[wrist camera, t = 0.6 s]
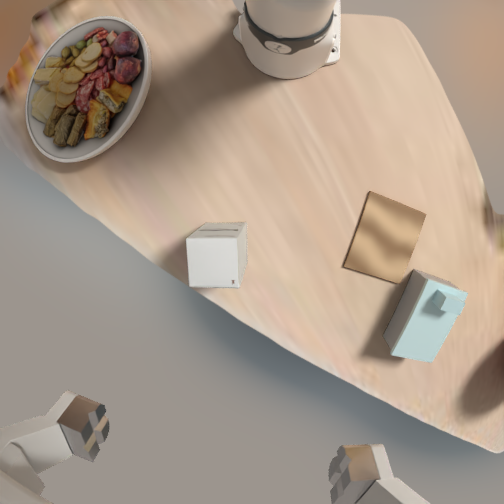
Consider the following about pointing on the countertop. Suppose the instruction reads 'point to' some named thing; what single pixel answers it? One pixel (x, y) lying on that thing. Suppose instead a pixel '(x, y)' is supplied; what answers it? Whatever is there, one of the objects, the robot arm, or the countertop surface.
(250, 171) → the countertop surface
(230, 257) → the supplement box
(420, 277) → the tub
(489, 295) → the countertop surface
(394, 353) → the lid
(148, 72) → the bowl
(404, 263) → the mat
